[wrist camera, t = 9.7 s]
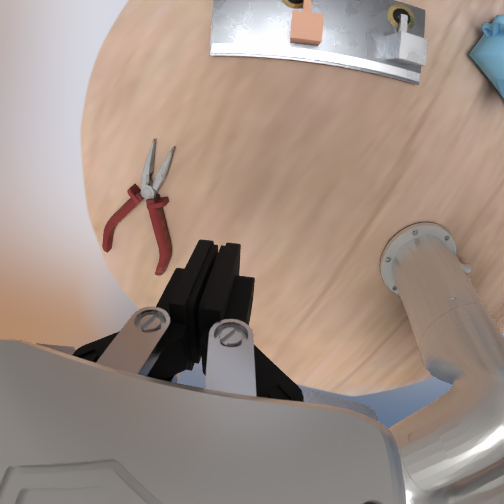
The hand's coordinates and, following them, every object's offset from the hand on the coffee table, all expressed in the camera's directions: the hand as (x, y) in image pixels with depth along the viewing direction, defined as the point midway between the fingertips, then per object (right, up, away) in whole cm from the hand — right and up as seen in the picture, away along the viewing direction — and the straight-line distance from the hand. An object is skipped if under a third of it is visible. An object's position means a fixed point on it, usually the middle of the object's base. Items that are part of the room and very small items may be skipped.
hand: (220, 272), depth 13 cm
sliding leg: (+7, +26, +13) cm, 30 cm away
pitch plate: (+9, +26, +14) cm, 31 cm away
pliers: (-13, +6, +31) cm, 34 cm away
